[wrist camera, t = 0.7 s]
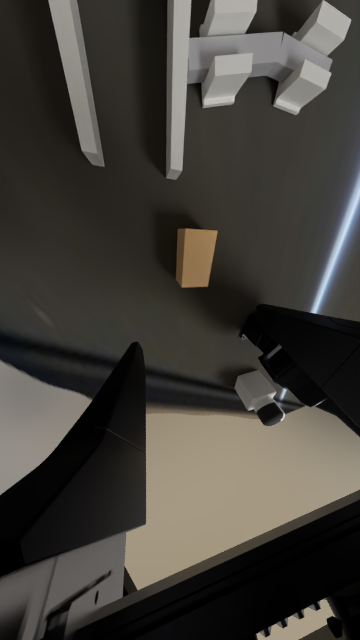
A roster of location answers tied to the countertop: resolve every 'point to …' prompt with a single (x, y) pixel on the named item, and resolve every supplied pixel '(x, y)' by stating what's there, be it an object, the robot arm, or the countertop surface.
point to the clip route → (263, 54)
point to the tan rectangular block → (194, 256)
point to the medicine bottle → (259, 397)
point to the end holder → (81, 90)
